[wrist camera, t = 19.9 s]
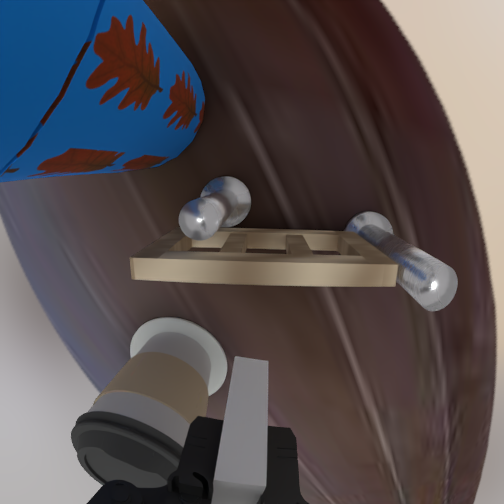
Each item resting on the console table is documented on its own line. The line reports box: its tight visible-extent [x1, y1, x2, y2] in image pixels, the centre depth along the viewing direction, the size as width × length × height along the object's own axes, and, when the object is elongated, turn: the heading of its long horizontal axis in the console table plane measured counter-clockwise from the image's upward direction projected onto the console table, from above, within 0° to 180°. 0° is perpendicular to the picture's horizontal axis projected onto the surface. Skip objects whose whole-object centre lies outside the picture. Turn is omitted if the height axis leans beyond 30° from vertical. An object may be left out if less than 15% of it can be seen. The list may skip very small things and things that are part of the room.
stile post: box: [179, 176, 251, 241], centre depth 19 cm, size 4×4×10 cm
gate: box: [130, 227, 398, 287], centre depth 19 cm, size 14×1×9 cm, turn 89°
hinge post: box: [344, 211, 458, 311], centre depth 18 cm, size 4×4×12 cm
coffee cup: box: [71, 332, 211, 488], centre depth 21 cm, size 9×9×15 cm
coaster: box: [130, 317, 227, 396], centre depth 28 cm, size 10×10×1 cm
